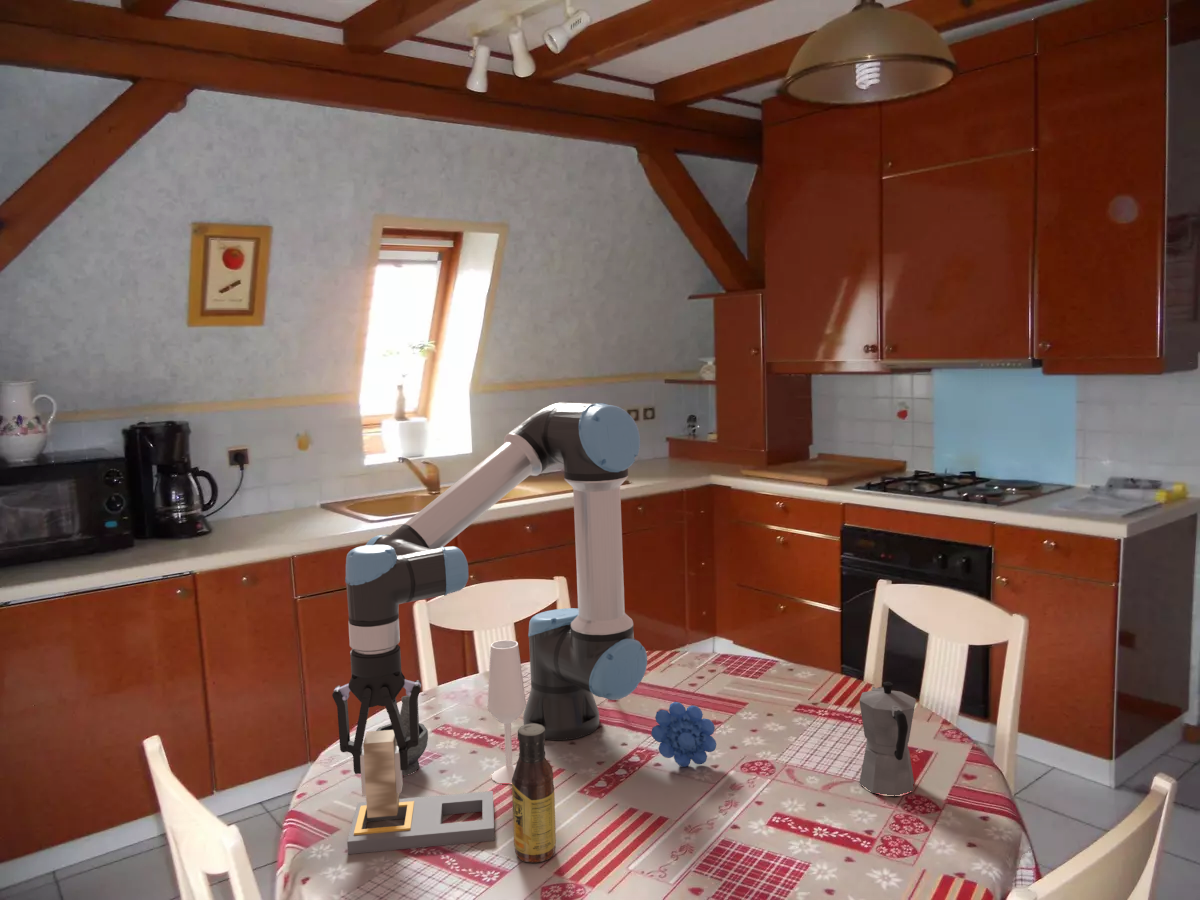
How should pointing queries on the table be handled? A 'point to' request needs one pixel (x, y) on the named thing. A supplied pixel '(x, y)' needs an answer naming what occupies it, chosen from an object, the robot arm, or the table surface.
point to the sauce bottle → (533, 798)
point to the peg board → (424, 823)
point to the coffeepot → (887, 740)
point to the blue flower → (684, 734)
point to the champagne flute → (505, 696)
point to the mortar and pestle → (413, 752)
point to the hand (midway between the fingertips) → (382, 790)
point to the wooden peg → (380, 773)
